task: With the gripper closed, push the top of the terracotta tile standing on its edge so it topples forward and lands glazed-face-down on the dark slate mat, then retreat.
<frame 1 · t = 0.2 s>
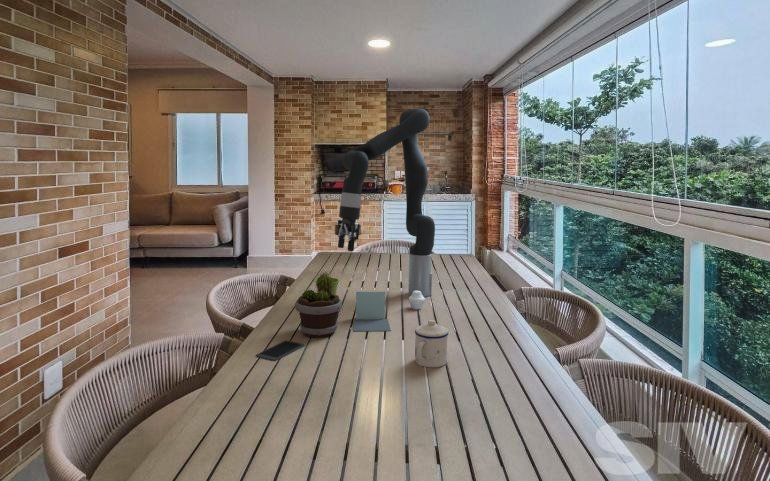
hand: (345, 249, 180), 22 cm above the table, tool pointing down, fingers open, 8 cm apart
tile: (370, 318, 170), on the table
plant pot: (327, 302, 191), on the table
teacup with lid: (428, 364, 132), on the table
cell phone: (280, 352, 140), on the table
white citrus juicer: (416, 308, 184), on the table
mat: (371, 325, 163), on the table
flowerpot: (319, 333, 155), on the table
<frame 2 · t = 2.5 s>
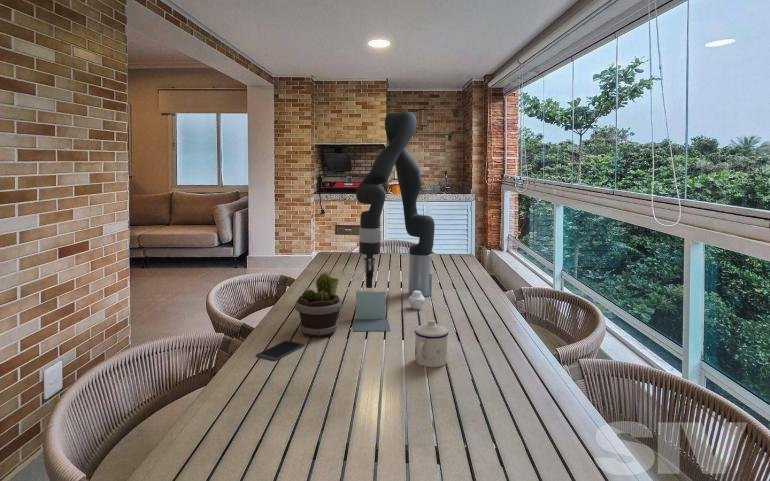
hand: (368, 287, 177), 9 cm above the table, tool pointing down, fingers closed
nothing on the table moved.
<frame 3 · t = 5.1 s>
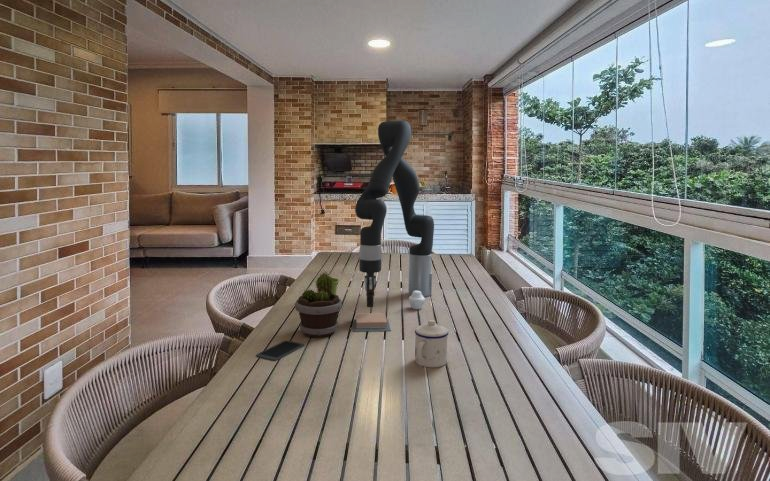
hand: (369, 306, 168), 5 cm above the table, tool pointing down, fingers closed
tile: (370, 316, 169), point 1 cm above the table, tilted 90°, touching mat
everything else where it was.
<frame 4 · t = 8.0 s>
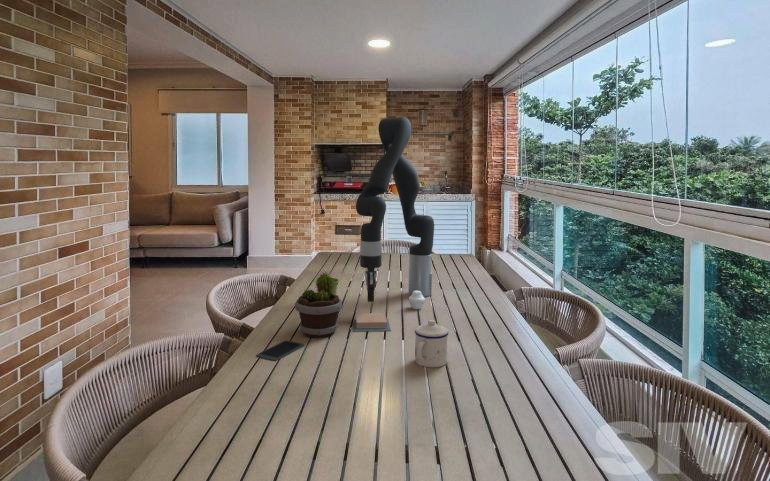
hand: (370, 301, 173), 5 cm above the table, tool pointing down, fingers closed
nothing on the table moved.
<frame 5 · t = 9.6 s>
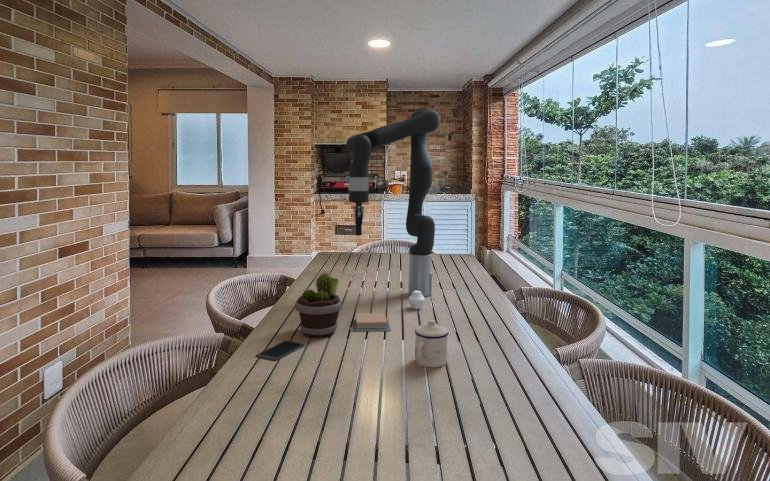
hand: (358, 235, 185), 27 cm above the table, tool pointing down, fingers closed
nothing on the table moved.
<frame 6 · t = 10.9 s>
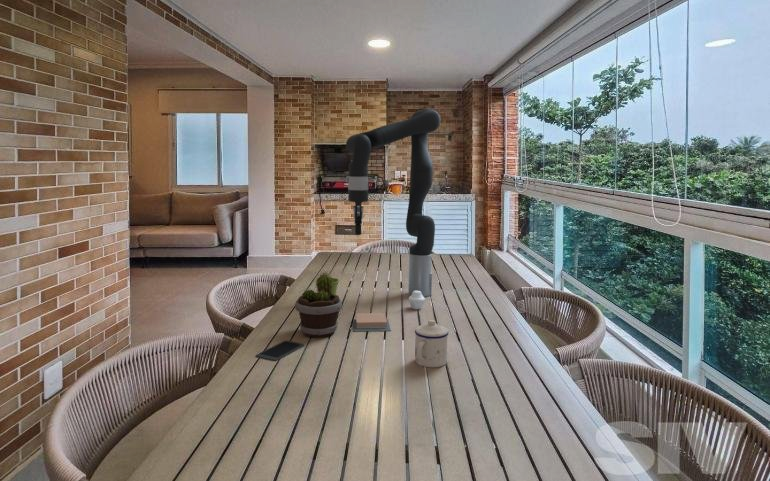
hand: (358, 234, 186), 27 cm above the table, tool pointing down, fingers closed
nothing on the table moved.
at the end: tile tilted 90°; tile inside the target area (5.5 cm from its centre), point 1.2 cm above the table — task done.
